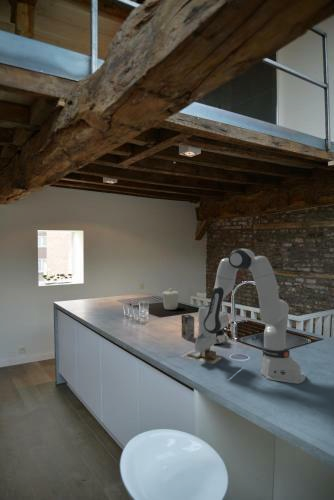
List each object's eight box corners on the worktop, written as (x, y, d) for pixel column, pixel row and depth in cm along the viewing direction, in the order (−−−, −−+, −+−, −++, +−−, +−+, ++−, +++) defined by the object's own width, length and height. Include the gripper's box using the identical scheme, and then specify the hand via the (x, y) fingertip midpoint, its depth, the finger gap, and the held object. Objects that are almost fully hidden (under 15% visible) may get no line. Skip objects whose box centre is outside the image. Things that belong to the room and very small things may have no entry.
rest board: (222, 358, 205) (222, 357, 205) (213, 365, 195) (213, 363, 195) (191, 352, 217) (191, 350, 217) (181, 357, 207) (181, 356, 207)
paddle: (217, 356, 204) (217, 350, 204) (211, 361, 198) (211, 354, 198) (193, 351, 214) (193, 345, 214) (186, 355, 207) (186, 349, 207)
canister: (176, 311, 337) (176, 290, 337) (159, 310, 344) (159, 289, 343) (181, 307, 354) (181, 287, 354) (165, 306, 361) (165, 286, 360)
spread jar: (208, 344, 234) (208, 327, 233) (213, 339, 244) (213, 323, 243) (224, 346, 228) (224, 329, 227) (230, 342, 238) (230, 325, 237)
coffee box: (181, 336, 251) (181, 315, 250) (189, 335, 253) (189, 314, 253) (186, 340, 242) (186, 317, 242) (194, 339, 245) (194, 316, 244)
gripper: (201, 337, 194) (202, 361, 194) (217, 329, 210) (218, 351, 211) (192, 335, 197) (192, 359, 198) (208, 327, 214) (209, 349, 214)
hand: (205, 355), depth 204 cm, fingers closed on paddle, 3 cm apart
